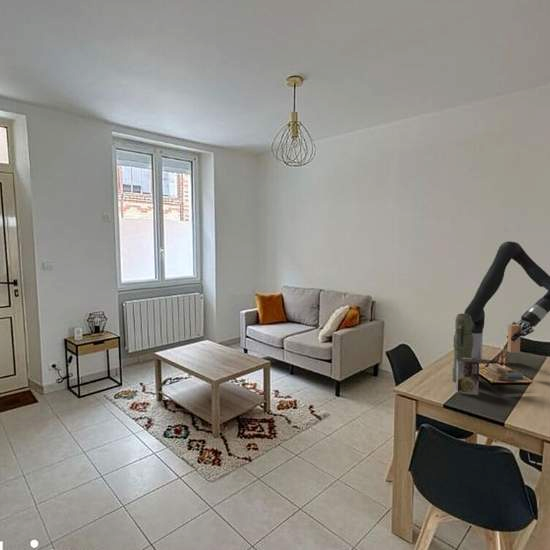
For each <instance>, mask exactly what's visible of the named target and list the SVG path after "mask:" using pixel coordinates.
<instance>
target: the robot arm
mask: <svg viewBox="0 0 550 550" xmlns="http://www.w3.org/2000/svg"><path fill="white" fill-rule="evenodd" d="M511 260H513V261H514V262H516V263H517V264H518V265H519V266H520V267H521V269H523V271H524V272H525V273H526V274H527V276H528V277H529V278H530V279H531V280H532V281H533V283H535V284H536V285H537V286H538V287H540V288H544V289H545V290H547V292H546V293H545V294H544V295H543V296H542V297H541V298H539V299H538V300H537V301H536V302H535V303H534V304H533V305H532V306H530V307H529V308H527V310H526V311H525V312H524V313H523V314H522V315H521V317H520V320H519V321H517V322H515V321H513V322H512V323H511V325H521V327H520V328H519V329H518V331H517V332H516V333H515V334H514V335H513V336H512V337H511V340H512V341H515V340H516V339H517V338H518V337H520V338H521V337H523V338H524V337H526V336H528V335H530V334H532V333H534V332H535V330H534V328H533V327H537V325H538V324H539V323H540V322H541V321H542V320H543V319H544V318H545V317H546V316H547V314H549V312H550V275H549V274H548V273H547V272H546V271H545V270H544V269H543V268H541V266H539V265H538V264H537V263H536V262H535V261H534V260H533V259H532V258H531V257H530V256H529V255H528V254H527V252H526V251H525V250H524V248H523V247H522V246H521V245H520V244H519V243H518V242H516V241H505V242H503V243H501V244H500V245H499V247H498V249H497V252H496V255H495V257H494V259H493V261H492V263H491V265H490V267H489V268H488V270H487V271H486V273H485V275H484V277H483V278H482V280H481V283H480V284H479V285H478V288H477V290H476V292H475V295H474V297H473V298H472V300H471V301H470V303H469V304H468V305H467V307H466V308H465V310H464V313H463V314H469V315H470V316H471V318H472V337H473V349H472V357H471V358H477V360H478V362H479V363H480V362H482V361H483V360H482V359H483V335H484V332H483V331H484V327H485V319H486V318H485V310H484V309H485V307H486V305H487V303H488V302H489V301H490V300H491V298H493V296H495V294H496V293H497V291H498V290H499V289H500V286H501V285H502V283H503V280H504V276H505V272H506V268H507V266H508V264H509V263H510V262H511ZM506 338H507V339H508V335H507V336H506Z"/></svg>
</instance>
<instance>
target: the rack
mask: <svg viewBox="0 0 550 550" xmlns="http://www.w3.org/2000/svg"><path fill="white" fill-rule="evenodd" d="M505 371H508V372H509V376H508V380H497V379H495V378H493V377H492V376H490V375H488V374H487V372H486V373H484V374H485V375H487V376H488V377H490V378H492V379H493V380H496V381H497V382H509V381H510V382H511V381H512V382H515V381H516V382H517V381H529V378H525V377H524V373H523V372H518V370H517V369H505Z"/></svg>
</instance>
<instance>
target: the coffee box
mask: <svg viewBox="0 0 550 550" xmlns="http://www.w3.org/2000/svg"><path fill="white" fill-rule="evenodd" d="M479 381H480V361H479V362H478V360H477V358H466V357H456V382H455V389H456V393H457V394H461V395H469V396H470V395H471V396H472V395H473V396H479V392H480V391H479V388H480V387H479V384H480V383H479Z"/></svg>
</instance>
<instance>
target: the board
mask: <svg viewBox="0 0 550 550" xmlns="http://www.w3.org/2000/svg"><path fill="white" fill-rule="evenodd" d="M507 327H508V328H507V336H508V338H507V347H506V349H507V350H506V351H507V352H509V353H520V352H521V337H518V338H517V339H516V340H515V341H512V340H511V337H512V336H513V335H514V334H515V333H516V332H517V331H518V329H519V328H520V327H521V325H512V324H508V325H507Z"/></svg>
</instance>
